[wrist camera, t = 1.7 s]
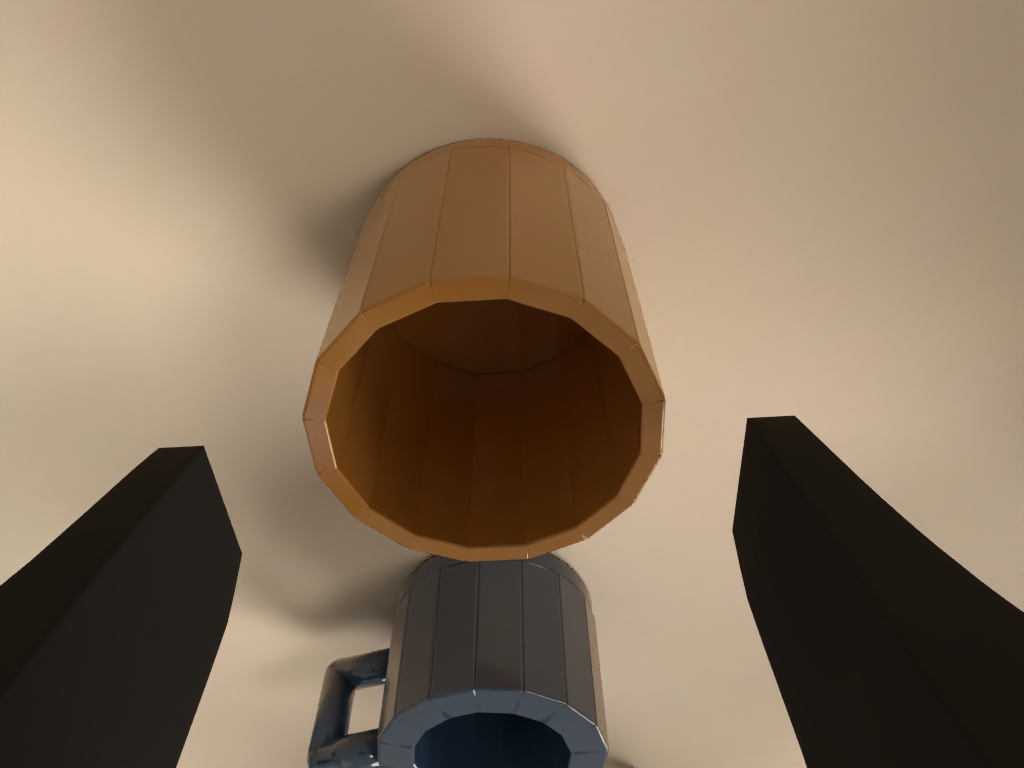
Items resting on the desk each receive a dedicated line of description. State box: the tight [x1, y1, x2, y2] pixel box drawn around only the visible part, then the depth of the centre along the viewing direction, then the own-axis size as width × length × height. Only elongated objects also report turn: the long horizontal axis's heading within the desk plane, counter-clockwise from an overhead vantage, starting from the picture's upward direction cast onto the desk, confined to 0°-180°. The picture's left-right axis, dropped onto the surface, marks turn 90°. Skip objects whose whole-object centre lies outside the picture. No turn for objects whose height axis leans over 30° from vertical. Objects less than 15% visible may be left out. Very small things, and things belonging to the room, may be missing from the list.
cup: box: [307, 553, 609, 768], centre depth 21 cm, size 8×5×4 cm
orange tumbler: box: [302, 139, 665, 562], centre depth 14 cm, size 5×5×6 cm
